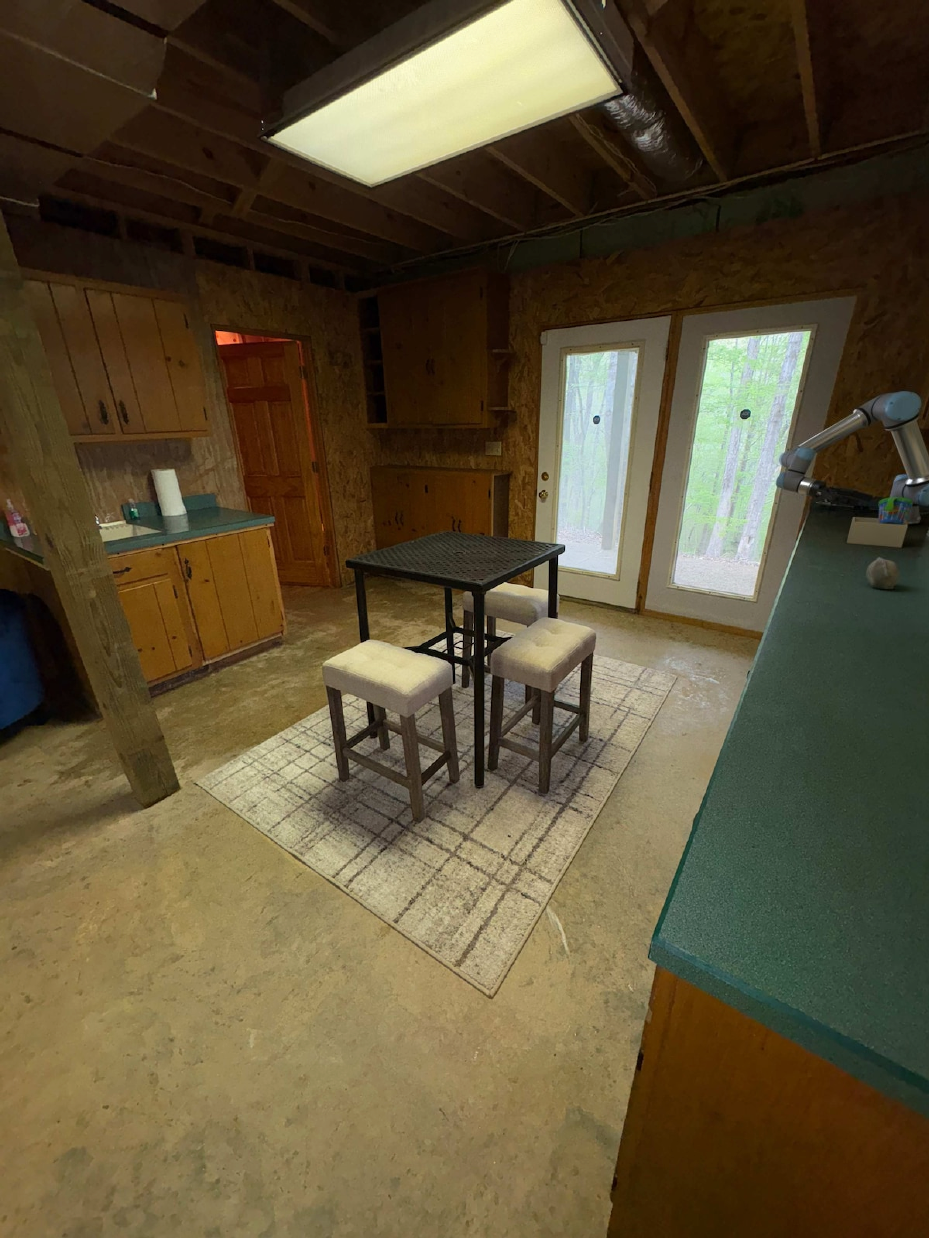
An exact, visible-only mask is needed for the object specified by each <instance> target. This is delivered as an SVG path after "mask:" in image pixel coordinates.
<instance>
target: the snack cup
mask: <svg viewBox="0 0 929 1238" xmlns="http://www.w3.org/2000/svg"><path fill="white" fill-rule="evenodd" d="M912 505H913V502H912V501H911V500H910V499H907V498H901V497H891V498H890V497H886V498H882V499H880V500H879V501H878V505H877V506H878V518H879V521H878V523H883V524H899V525H903V523H904V521H905V519H906V517H907V514H908V512H909V509H910V508H911V507H912Z"/></svg>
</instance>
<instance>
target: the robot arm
mask: <svg viewBox="0 0 929 1238" xmlns="http://www.w3.org/2000/svg"><path fill="white" fill-rule="evenodd" d="M921 408H922V399H921V397H920V396H919V395H918V394H917V393H915V392H913V391H906V390H904V391H903V390H901V391H897V392H896V391H895V392H887V393H883V394H879V395H878V396H876V397H874V398H872V399H871V400H868V401H867V402H865V403H863V404H862V405H860V406H859V407H857V408H855V409H854V410H853V411H852V413H851V414H849V415H848V416H846V417H845V418H843V419H841V420H839V421H837V422H836V423H834V424H833V425H831V426H829V427H827V428H826V429H825V430H823V431H821V432H819V433H817V434H816V435H814V436H813V437H811V438H809V439H808V440H806V441H804V442H803V443H801V444H799V445H797V446H795V447H793V448H792V449H791V450H786V451H784V452H782V453H781V454H780V455H779V458H778V463H779V464H780V466H782V467H784V468H787V470H786V471H782V472H780V473H779V474H778V476H777V477H776V479H775V486H776V487H777V488H778V489H782V490H784V491H789V492H793V493H797V494H801V496H809V497H812V498H815V499H818V498H823V499H825V500H827V501H829V502H831V503H834V504H836V505H837V504H839V503H840V504H845V505H849V506H853V507H857V506H858V504H859V502H860V500H862V501H865V502H871V501H872V499H873V497H874V495H873V494H869V493H866V492H861V491H858V490H859V489H858V488H855V489H853V488H845V487H839V486H834V485H831V486H827V482H826V480H825V481H824V480H820V479H816V478H812V477H808V476H806V474H807V471H808V469H809V468H810V465H811V464H812V462H813V461H814V458H815V456H816V454H818V453H819V452H821V451H823V450H824V449H826V448H828V447H830V446H831V445H833V444H835V443H837V442H838V441H840V440H842V439H843V438H845V437H847V436H850V435H851V434H852V433H854V432H856V431H857V430H859V429H861V428H867V427H869V426H871V425H873V424H875V423H879V422H882V424H883V427H884V429H885V431H889V432H891V435H892V438H893V440H894V443H895V446H896V448H897V451H898V454H899V456H900V459H901V461H902V464H903V467H904V470H905V472H906V473H905V474H897V475H896V476H895V478H894V480H893V482H892V488H891V491H890V494H889V498H891V497H901V498H907V499H910V500H911V501H912V502H913V505H912V507H911V508H910V509H909V512H908V514H907V517H906V519H905V520H906V521H907V524H908V526H917V525H919V524H920V521H921V519H922V518H923V517H924V518H925V517H928V515H927V514H920V506H923V507H929V452H928V450H927V447H926V444H925V441H924V439H923V436H922V433H921V430H920V428H919V425H918V422H917V421H918V420H919V418H920V409H921Z"/></svg>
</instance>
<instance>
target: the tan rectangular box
mask: <svg viewBox="0 0 929 1238" xmlns="http://www.w3.org/2000/svg"><path fill="white" fill-rule="evenodd" d="M878 521H879V517H860V516H853V517H852V519H851V524H850V528H849V532H848V535H847V540H846V544H853V545H864V546H865V545H866V546H878V547H888V548H890V547H891V548H902V547H903V544H904V540H905V537H906V534H907V529H908V528H909V527H908V526H909V525H908V524H907V521H906V520H905V521H904V523H903V525H899V524H883V523H878Z"/></svg>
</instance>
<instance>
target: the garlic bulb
mask: <svg viewBox="0 0 929 1238" xmlns="http://www.w3.org/2000/svg"><path fill="white" fill-rule="evenodd" d="M898 567H899V566H898V565H897V563H896V562H894V561H892V560H889V559H884V558H883V557H877V558H876V559H875V560H873V561H872V562H871V563H870V564H869V565H868V566H867V568H866V572H865V576H866V577H865V578H866V579H867V581H868V583H869V586H870V587H871V588H874V589H880V590H893V589H894V586H895V585H896V584H897V583H898V580H899V578H900V577H899V576H900V571H899V569H898Z"/></svg>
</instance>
